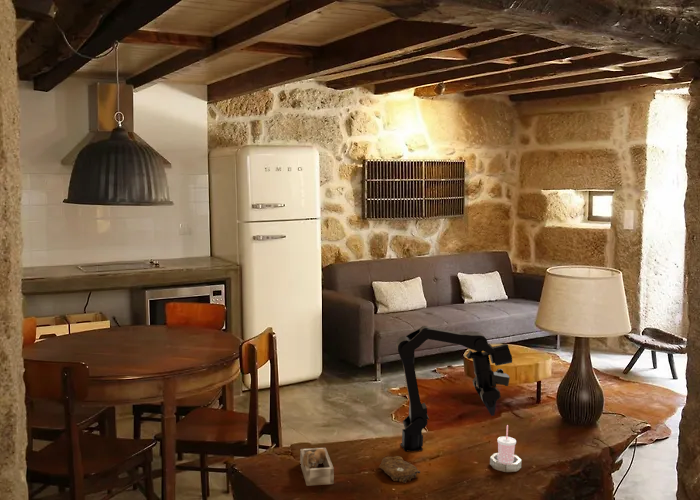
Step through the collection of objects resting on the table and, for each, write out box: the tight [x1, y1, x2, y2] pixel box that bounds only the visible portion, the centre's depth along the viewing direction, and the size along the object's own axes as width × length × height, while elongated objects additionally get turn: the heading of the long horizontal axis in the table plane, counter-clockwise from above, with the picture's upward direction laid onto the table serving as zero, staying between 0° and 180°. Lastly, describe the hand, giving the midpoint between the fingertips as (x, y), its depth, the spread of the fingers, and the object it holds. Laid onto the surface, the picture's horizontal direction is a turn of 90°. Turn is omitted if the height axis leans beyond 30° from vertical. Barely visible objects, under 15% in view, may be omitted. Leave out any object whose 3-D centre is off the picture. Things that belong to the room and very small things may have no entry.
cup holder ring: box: [489, 452, 523, 473], centre depth 235 cm, size 10×10×2 cm
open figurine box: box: [299, 447, 335, 487], centre depth 226 cm, size 8×16×5 cm, turn 11°
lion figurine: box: [303, 449, 326, 469], centre depth 226 cm, size 15×5×9 cm, turn 161°
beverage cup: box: [496, 424, 517, 463], centre depth 235 cm, size 6×6×14 cm
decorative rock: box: [378, 455, 421, 484], centre depth 228 cm, size 11×4×15 cm
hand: (490, 411), depth 248 cm, fingers open, 9 cm apart
